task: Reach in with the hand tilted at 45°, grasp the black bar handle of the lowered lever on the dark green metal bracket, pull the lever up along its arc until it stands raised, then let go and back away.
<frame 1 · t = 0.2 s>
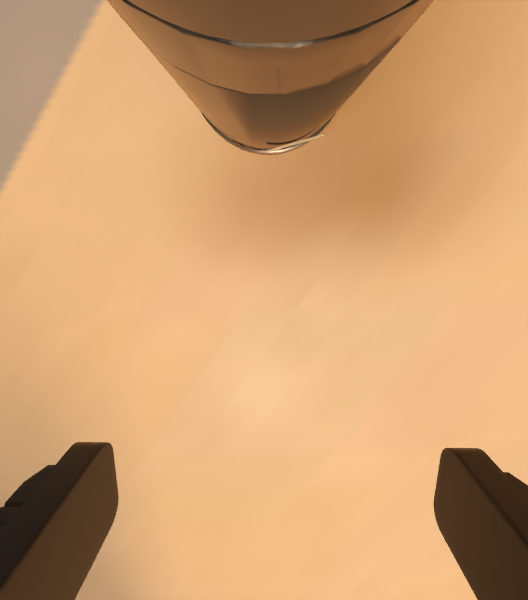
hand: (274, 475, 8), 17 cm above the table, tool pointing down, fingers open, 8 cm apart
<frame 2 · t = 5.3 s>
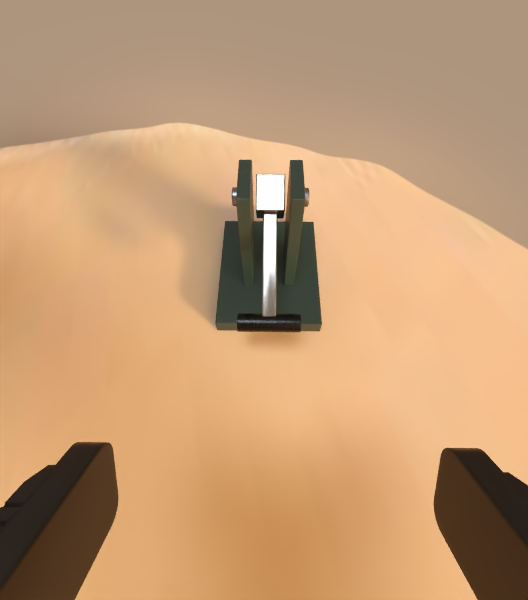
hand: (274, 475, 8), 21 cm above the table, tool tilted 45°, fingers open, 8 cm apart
bracket: (268, 276, 37), on the table
lever: (269, 255, 27), point 9 cm above the table, hinge at -30.0°
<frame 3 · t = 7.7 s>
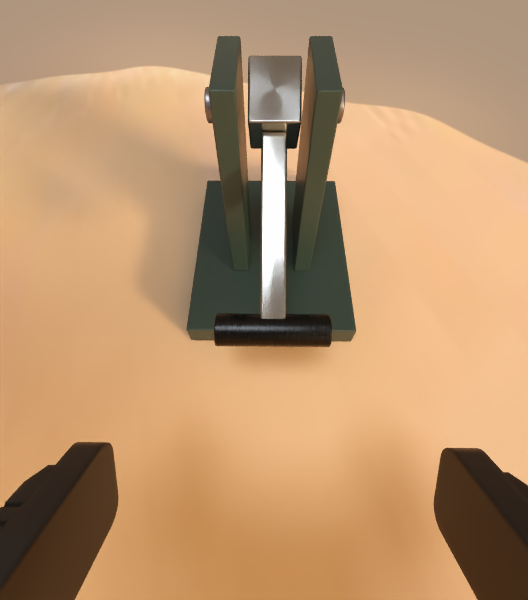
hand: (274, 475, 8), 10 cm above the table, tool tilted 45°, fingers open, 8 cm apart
bracket: (270, 258, 25), on the table
lever: (273, 209, 15), point 9 cm above the table, hinge at -30.0°
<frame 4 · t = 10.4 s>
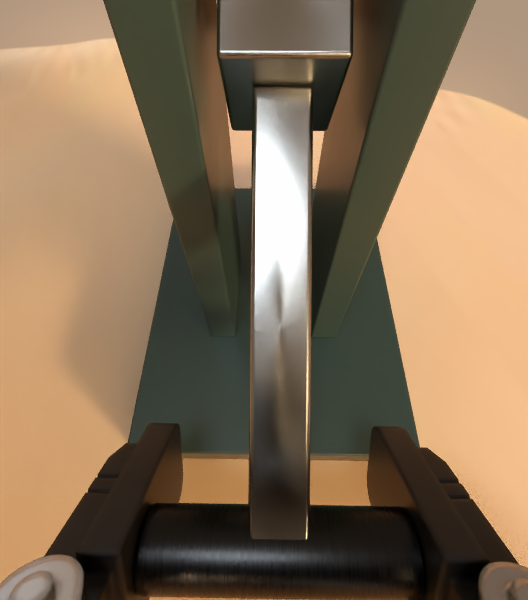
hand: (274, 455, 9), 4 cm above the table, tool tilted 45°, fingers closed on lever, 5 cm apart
bracket: (272, 308, 16), on the table
lever: (280, 268, 7), point 9 cm above the table, hinge at -30.1°, touching gripper
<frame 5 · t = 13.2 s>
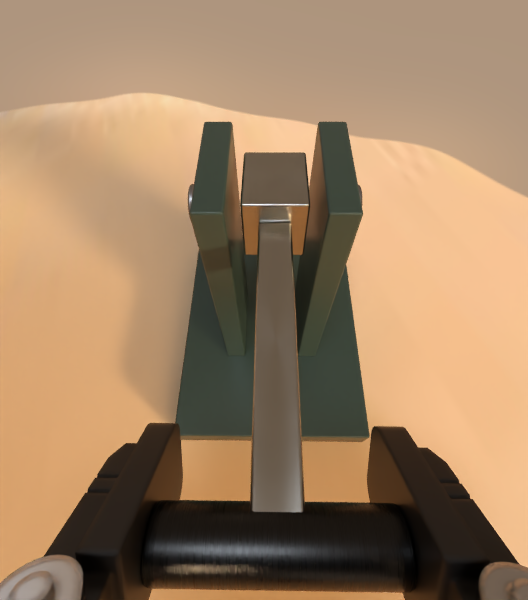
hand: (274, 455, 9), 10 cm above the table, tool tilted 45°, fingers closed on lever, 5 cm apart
bracket: (271, 332, 22), on the table
lever: (275, 314, 10), point 11 cm above the table, hinge at 3.4°, touching gripper
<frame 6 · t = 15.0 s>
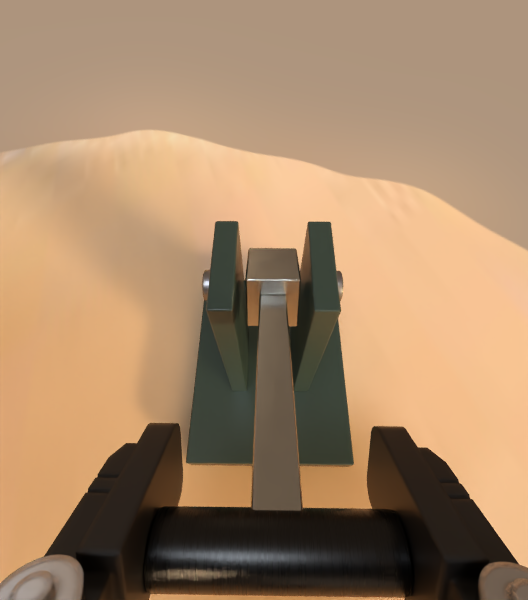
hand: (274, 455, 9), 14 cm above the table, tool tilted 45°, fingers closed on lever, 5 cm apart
bracket: (269, 366, 25), on the table
lever: (273, 361, 11), point 13 cm above the table, hinge at 25.6°, touching gripper
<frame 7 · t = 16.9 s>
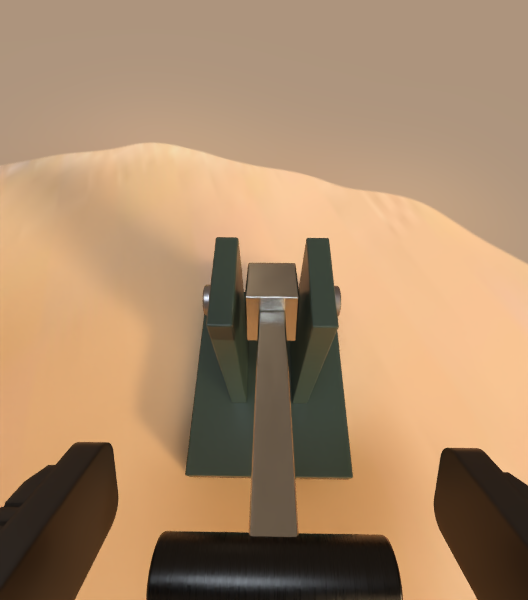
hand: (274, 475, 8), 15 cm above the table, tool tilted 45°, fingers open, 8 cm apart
bracket: (269, 377, 25), on the table
lever: (272, 380, 12), point 13 cm above the table, hinge at 23.4°
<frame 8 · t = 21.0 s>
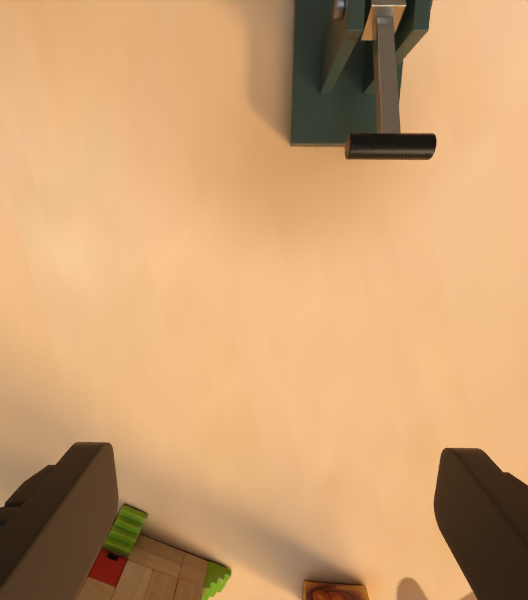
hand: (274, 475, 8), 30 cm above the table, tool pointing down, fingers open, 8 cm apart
candy box: (332, 590, 49), on the table
block set: (129, 548, 47), on the table
bracket: (344, 73, 33), on the table
lever: (384, 68, 21), point 13 cm above the table, hinge at 23.4°
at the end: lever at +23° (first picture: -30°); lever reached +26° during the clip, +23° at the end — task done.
